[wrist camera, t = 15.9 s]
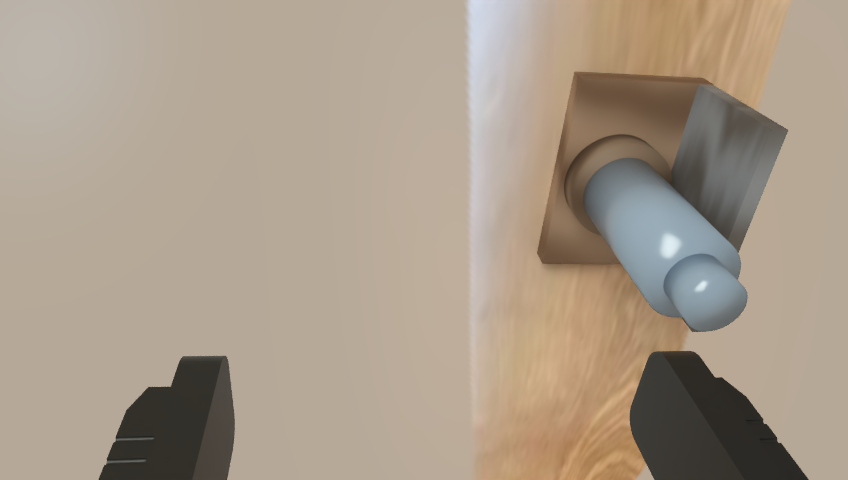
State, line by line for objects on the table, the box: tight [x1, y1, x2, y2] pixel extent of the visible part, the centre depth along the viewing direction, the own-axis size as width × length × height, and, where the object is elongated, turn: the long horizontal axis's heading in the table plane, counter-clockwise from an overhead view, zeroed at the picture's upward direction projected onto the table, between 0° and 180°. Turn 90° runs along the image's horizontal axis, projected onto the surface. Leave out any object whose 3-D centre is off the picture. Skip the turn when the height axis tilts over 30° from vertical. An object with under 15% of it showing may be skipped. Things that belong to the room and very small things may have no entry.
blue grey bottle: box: [583, 158, 747, 331], centre depth 36 cm, size 5×5×12 cm
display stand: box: [537, 72, 788, 332], centre depth 40 cm, size 14×9×10 cm, turn 175°
